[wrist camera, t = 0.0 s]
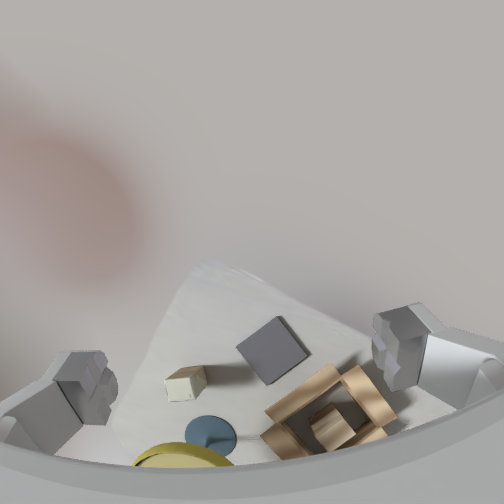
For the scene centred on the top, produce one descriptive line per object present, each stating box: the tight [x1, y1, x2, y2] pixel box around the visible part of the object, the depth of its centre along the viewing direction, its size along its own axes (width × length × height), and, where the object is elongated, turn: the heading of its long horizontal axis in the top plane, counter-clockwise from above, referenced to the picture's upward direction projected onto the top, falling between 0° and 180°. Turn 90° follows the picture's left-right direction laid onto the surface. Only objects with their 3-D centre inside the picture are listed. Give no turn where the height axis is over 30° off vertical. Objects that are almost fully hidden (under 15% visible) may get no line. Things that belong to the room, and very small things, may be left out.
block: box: [308, 403, 356, 452], centre depth 53 cm, size 4×6×10 cm
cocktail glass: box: [132, 416, 236, 468], centre depth 46 cm, size 18×18×25 cm
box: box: [164, 365, 207, 402], centre depth 55 cm, size 5×4×11 cm
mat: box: [236, 316, 307, 386], centre depth 60 cm, size 10×10×1 cm
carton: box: [260, 363, 398, 460], centre depth 55 cm, size 23×23×6 cm
